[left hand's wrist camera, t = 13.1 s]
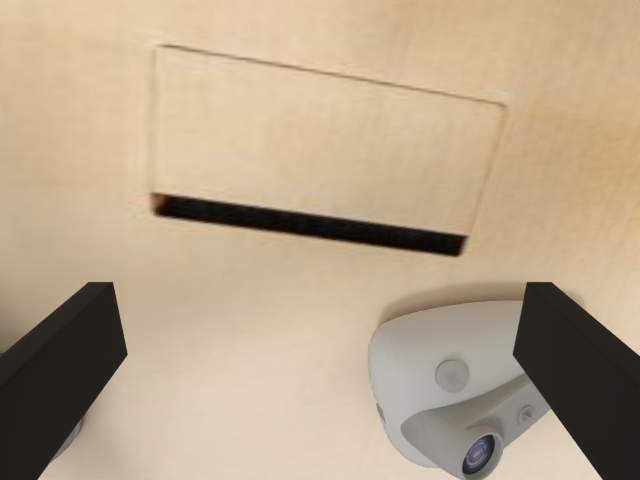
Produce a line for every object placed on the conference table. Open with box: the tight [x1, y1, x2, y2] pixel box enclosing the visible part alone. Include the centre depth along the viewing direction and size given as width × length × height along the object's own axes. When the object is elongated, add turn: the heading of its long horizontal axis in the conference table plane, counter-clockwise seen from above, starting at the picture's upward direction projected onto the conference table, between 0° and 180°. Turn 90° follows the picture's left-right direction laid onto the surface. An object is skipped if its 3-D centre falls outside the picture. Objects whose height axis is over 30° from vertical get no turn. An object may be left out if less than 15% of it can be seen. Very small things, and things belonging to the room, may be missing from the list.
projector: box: [368, 300, 551, 480], centre depth 39 cm, size 22×23×15 cm
